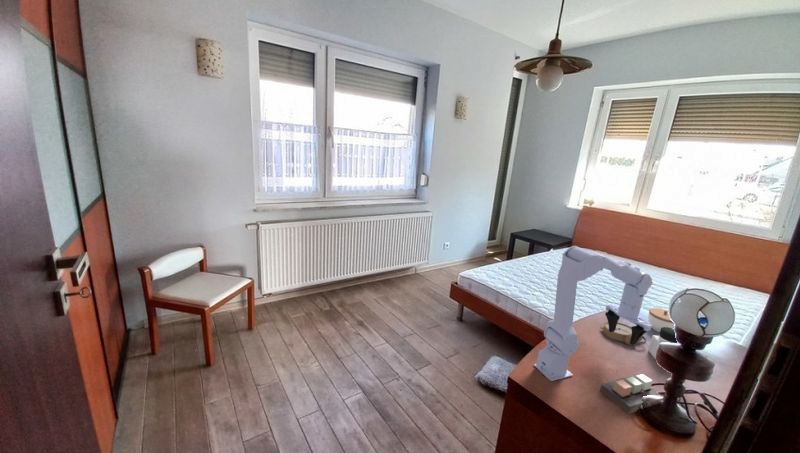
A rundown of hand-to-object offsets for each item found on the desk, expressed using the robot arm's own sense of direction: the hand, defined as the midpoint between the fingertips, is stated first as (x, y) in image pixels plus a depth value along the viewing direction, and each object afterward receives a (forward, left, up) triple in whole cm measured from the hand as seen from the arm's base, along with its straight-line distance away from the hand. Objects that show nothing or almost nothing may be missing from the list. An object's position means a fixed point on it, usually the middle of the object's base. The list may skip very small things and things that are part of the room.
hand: (621, 337), depth 109 cm
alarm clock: (+18, +10, -11) cm, 23 cm away
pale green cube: (-12, -14, -7) cm, 20 cm away
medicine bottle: (+20, -4, -10) cm, 23 cm away
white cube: (-8, -14, -7) cm, 17 cm away
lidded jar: (+40, +10, -10) cm, 43 cm away
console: (-12, -14, -10) cm, 21 cm away
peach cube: (-17, -14, -7) cm, 23 cm away
